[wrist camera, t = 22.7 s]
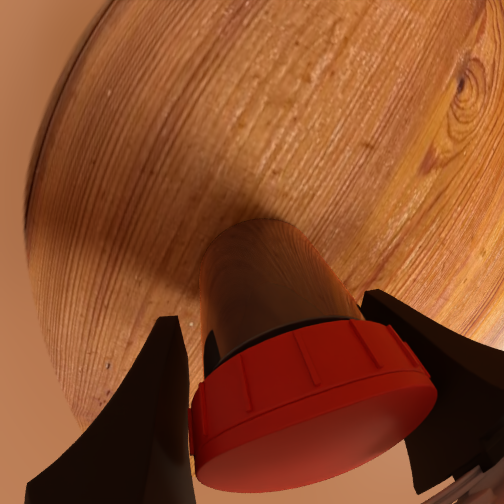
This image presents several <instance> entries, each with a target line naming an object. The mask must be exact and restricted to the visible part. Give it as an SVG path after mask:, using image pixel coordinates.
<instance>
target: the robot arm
mask: <svg viewBox="0 0 504 504" xmlns="http://www.w3.org/2000/svg"><path fill="white" fill-rule="evenodd" d="M361 309H362V310H363V312H364V313H365V315H366V316H367V317H368V319H369V320H370V321H371V322H375V323H380V324H382V325H384V326H386V327H387V326H388V325H391V326H392V328H393V329H394V330H395V332H396V333H397V334H398V336H399V337H400V338H401V340H402V341H403V342H406V343H407V344H408V346H409V347H410V348H411V350H412V351H413V352H414V354H415V355H416V356H417V358H418V359H419V361H420V362H421V363H422V365H423V366H424V368H425V369H426V370H427V372H428V373H429V375H430V377H431V378H429V379H430V380H431V382H432V383H433V385H434V386H435V388H436V390H437V400H436V403H435V405H434V407H433V409H432V410H431V411H430V413H429V414H428V416H427V417H426V418H425V419H424V420H423V422H422V423H421V424H420V425H419V426H418V427H417V428H416V429H415V430H413V431H412V432H411V433H410V434H409V435H408V436H407V437H405V438H404V441H405V444H406V448H407V452H408V455H409V460H410V465H411V470H412V477H413V484H414V489H415V491H416V493H417V494H418V495H419V494H421V493H423V492H425V491H427V490H429V489H431V488H432V487H434V486H436V485H438V484H440V483H441V482H443V481H445V480H446V479H448V478H449V477H451V476H453V478H454V480H455V482H453V483H452V484H450V485H449V486H448V487H447V488H445V489H443V490H442V491H441V492H439V493H437V494H436V495H435V496H433V497H431V498H430V499H428V500H427V501H425V502H423V503H421V504H452V503H453V502H454V501H456V500H457V499H458V500H457V502H456V503H454V504H504V351H502V350H498V349H495V348H492V347H489V346H486V345H483V344H481V343H478V342H476V341H473V340H471V339H469V338H466V337H464V336H462V335H460V334H458V333H456V332H454V331H452V330H450V329H448V328H446V327H444V326H442V325H440V324H439V323H437V322H435V321H433V320H432V319H430V318H428V317H426V316H425V315H423V314H421V313H420V312H418V311H416V310H415V309H413V308H411V307H410V306H408V305H406V304H405V303H403V302H401V301H400V300H398V299H396V298H395V297H393V296H391V295H389V294H388V293H386V292H384V291H382V290H380V289H375V290H369V291H365V293H364V297H363V301H362V305H361ZM189 385H190V382H189V367H188V356H187V352H186V348H185V344H184V340H183V336H182V332H181V328H180V324H179V320H178V315H177V316H163V317H159V318H158V319H157V320H156V323H155V325H154V327H153V329H152V331H151V333H150V334H149V336H148V338H147V340H146V342H145V344H144V346H143V348H142V349H141V351H140V353H139V355H138V356H137V358H136V360H135V362H134V363H133V365H132V367H131V369H130V370H129V372H128V373H127V375H126V377H125V378H124V380H123V381H122V383H121V384H120V386H119V388H118V389H117V391H116V392H115V394H114V395H113V396H112V398H111V399H110V401H109V402H108V403H107V405H106V406H105V407H104V409H103V410H102V411H101V413H100V414H99V415H98V416H97V418H96V419H95V420H94V421H93V422H92V424H91V425H90V426H89V427H88V428H87V430H86V431H85V432H84V433H83V434H82V435H81V436H80V437H79V438H78V440H77V441H76V442H75V443H74V444H73V445H72V446H71V447H69V449H67V450H66V451H65V452H64V453H63V454H62V455H61V456H60V457H59V458H58V459H57V460H56V461H55V462H54V463H53V464H51V465H50V466H49V467H48V468H46V469H45V470H44V471H43V472H41V473H40V474H39V475H37V476H36V477H35V478H34V479H32V480H31V481H29V482H28V483H27V486H26V493H25V502H24V504H196V500H195V494H194V488H193V482H192V475H191V468H190V459H189V450H188V408H189Z"/></svg>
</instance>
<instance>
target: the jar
mask: <svg viewBox="0 0 504 504" xmlns="http://www.w3.org/2000/svg"><path fill="white" fill-rule="evenodd" d="M199 278H200V321H201V346H202V365H203V381H204V380H205V379H206V378H207V377H208V376H209V375H210V374H211V373H212V372H213V371H214V370H216V369H217V368H218V367H219V366H221V365H222V364H223V363H225V362H226V361H228V360H229V359H231V358H232V357H234V356H235V355H237V354H239V353H241V352H243V351H245V350H246V349H248V348H250V347H252V346H255V345H257V344H259V343H261V342H263V341H265V340H268V339H271V338H273V337H276V336H278V335H281V334H284V333H287V332H290V331H293V330H296V329H300V328H303V327H307V326H312V325H316V324H320V323H326V322H333V321H340V320H350V319H355V320H363V321H370V320H369V319H368V317H367V316H366V315H365V313H364V312H363V310H362V309H361V308H360V306H359V305H358V304H357V302H356V301H355V299H354V298H353V297H352V295H351V294H350V293H349V291H348V290H347V289H346V287H345V286H344V285H343V283H342V282H341V281H340V279H339V278H338V277H337V276H336V274H335V273H334V272H333V270H332V269H331V268H330V266H329V265H328V264H327V263H326V261H325V260H324V259H323V257H322V256H321V255H320V254H319V252H318V251H317V250H316V249H315V247H314V246H313V245H312V243H311V242H310V241H309V240H308V238H307V237H306V236H305V235H304V234H303V233H302V232H301V231H300V230H298V229H297V228H296V227H294V226H292V225H290V224H288V223H286V222H283V221H279V220H275V219H254V220H248V221H245V222H242V223H239V224H237V225H234V226H232V227H231V228H229V229H227V230H226V231H224V232H223V233H222V234H220V235H219V236H218V237H217V238H216V239H215V240H214V241H213V242H212V243H211V245H210V246H209V247H208V249H207V250H206V252H205V254H204V256H203V259H202V262H201V266H200V276H199Z"/></svg>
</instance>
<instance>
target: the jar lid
mask: <svg viewBox="0 0 504 504" xmlns="http://www.w3.org/2000/svg"><path fill="white" fill-rule="evenodd" d="M429 378H431V377H430V375H429V373H428V372H427V370H426V369H425V368H424V366H423V365H422V363H421V362H420V361H419V359H418V358H417V356H416V355H415V354H414V352H413V351H412V350H411V348H410V347H409V346H408V344H407V343H406V342H403V341H402V340H401V338H400V337H399V336H398V334H397V333H396V332H395V330H394V329H393V328H392V326H391V325H388V326H387V327H386V326H384V325H382V324H380V323H375V322H371V321H363V320H355V319H350V320H340V321H333V322H326V323H320V324H316V325H312V326H307V327H303V328H300V329H296V330H293V331H290V332H287V333H284V334H281V335H278V336H276V337H273V338H271V339H268V340H265V341H263V342H261V343H259V344H257V345H255V346H252V347H250V348H248V349H246V350H245V351H243V352H241V353H239V354H237V355H235V356H234V357H232V358H231V359H229V360H228V361H226V362H225V363H223V364H222V365H221V366H219V367H218V368H217V369H216V370H214V371H213V372H212V373H211V374H210V375H209V376H208V377H207V378H206V379H205V380H204V381H203V382H200V383H199V385H198V387H199V388H198V389H197V391H196V393H195V395H194V397H193V400H192V403H191V408H188V430H189V447H190V456H194V460H195V463H194V464H195V475H196V477H197V479H198V481H200V482H201V483H202V484H204V485H206V486H208V487H210V488H213V489H217V490H221V491H227V492H237V493H263V492H273V491H281V490H287V489H293V488H298V487H302V486H306V485H310V484H313V483H317V482H321V481H324V480H327V479H330V478H333V477H335V476H338V475H340V474H343V473H345V472H348V471H350V470H352V469H355V468H357V467H359V466H361V465H363V464H365V463H367V462H369V461H370V460H372V459H374V458H376V457H378V456H379V455H381V454H383V453H384V452H386V451H387V450H389V449H390V448H392V447H393V446H395V445H396V444H397V443H399V442H400V441H402V440H403V439H404V438H405V437H407V436H408V435H409V434H410V433H411V432H412V431H413V430H415V429H416V428H417V427H418V426H419V425H420V424H421V423H422V422H423V420H424V419H425V418H426V417H427V416H428V414H429V413H430V411H431V410H432V409H433V407H434V405H435V403H436V400H437V390H436V388H435V386H434V385H433V383H432V382H431V380H430V379H429Z"/></svg>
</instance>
